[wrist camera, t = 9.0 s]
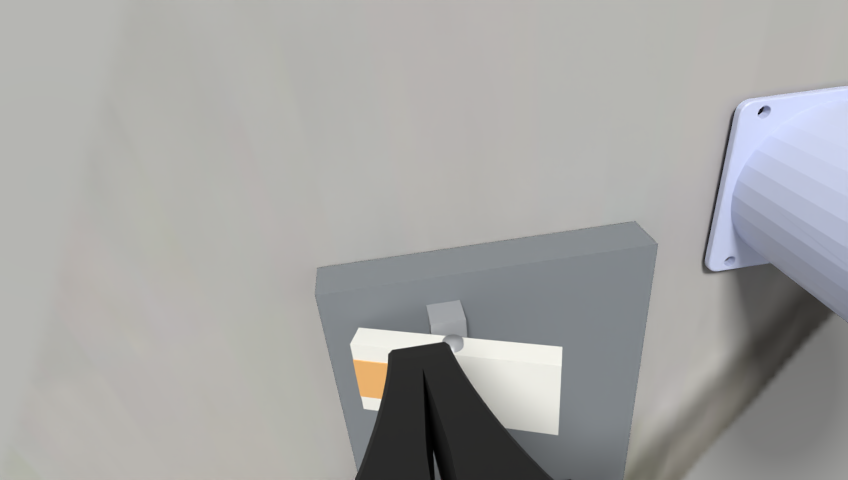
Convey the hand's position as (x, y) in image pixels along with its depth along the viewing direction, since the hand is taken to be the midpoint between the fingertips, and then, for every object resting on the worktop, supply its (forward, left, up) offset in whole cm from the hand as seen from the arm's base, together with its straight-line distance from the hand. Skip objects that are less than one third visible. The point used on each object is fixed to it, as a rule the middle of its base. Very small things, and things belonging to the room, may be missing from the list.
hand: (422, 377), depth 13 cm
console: (-4, +13, -10) cm, 17 cm away
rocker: (-2, +7, -6) cm, 9 cm away
